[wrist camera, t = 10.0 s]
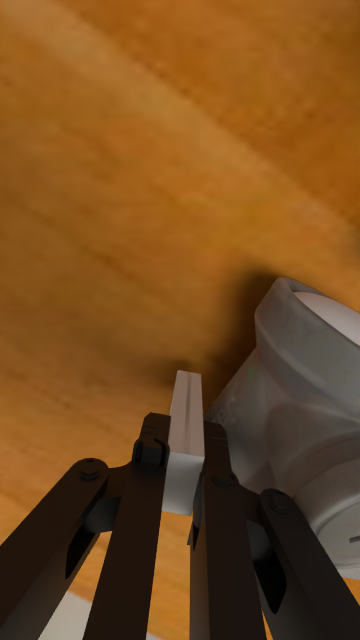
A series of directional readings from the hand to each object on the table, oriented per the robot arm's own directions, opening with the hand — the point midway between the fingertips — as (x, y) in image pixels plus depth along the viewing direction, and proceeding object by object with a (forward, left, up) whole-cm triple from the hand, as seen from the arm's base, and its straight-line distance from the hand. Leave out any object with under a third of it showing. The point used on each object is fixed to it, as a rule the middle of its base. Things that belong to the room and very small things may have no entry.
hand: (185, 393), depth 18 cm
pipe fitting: (+4, +1, -2) cm, 5 cm away
